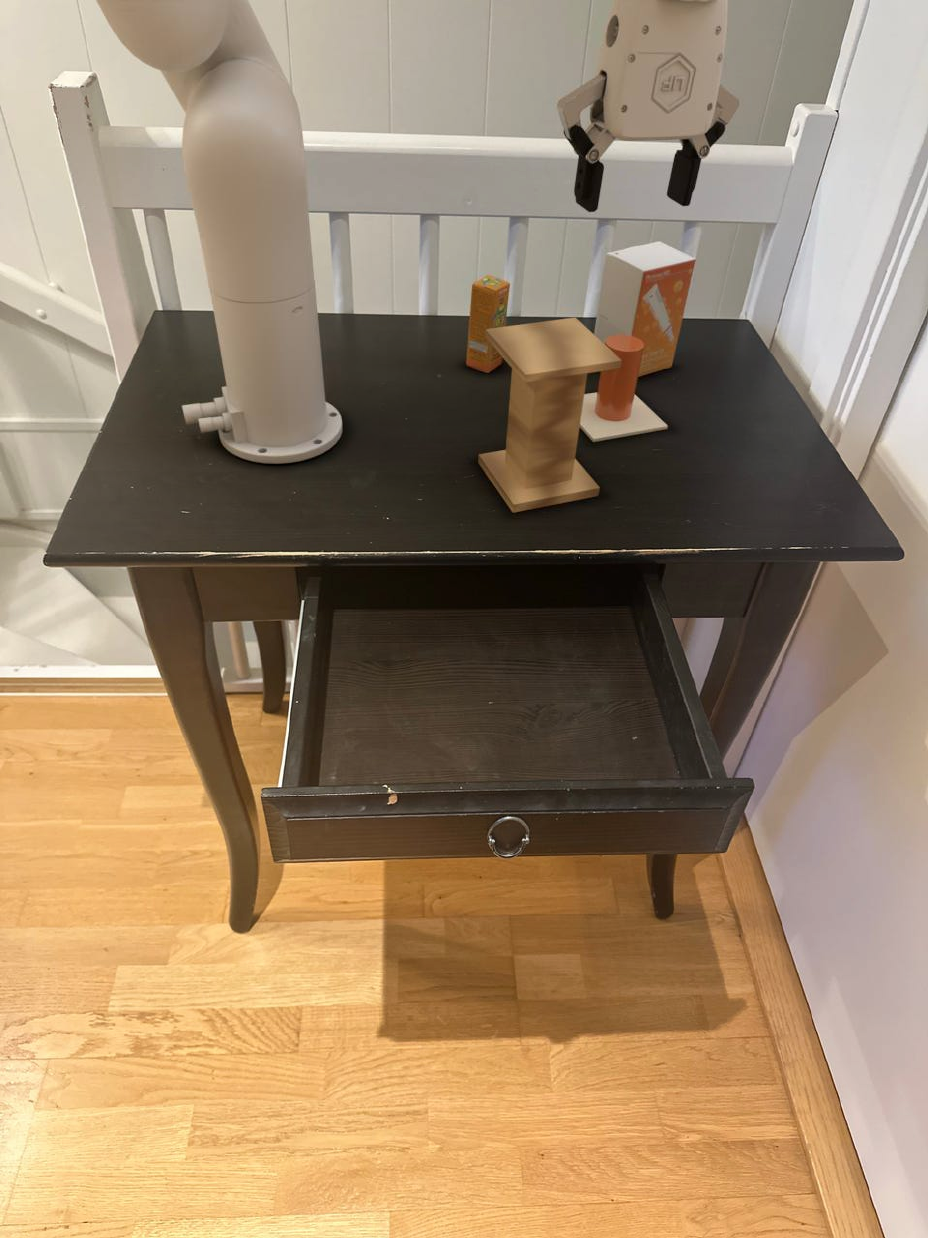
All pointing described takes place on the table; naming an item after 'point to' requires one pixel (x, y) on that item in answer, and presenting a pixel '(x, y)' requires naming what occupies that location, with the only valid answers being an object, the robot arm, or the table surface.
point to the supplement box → (486, 321)
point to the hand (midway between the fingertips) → (632, 204)
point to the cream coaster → (605, 429)
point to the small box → (645, 299)
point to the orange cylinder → (619, 379)
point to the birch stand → (545, 412)
